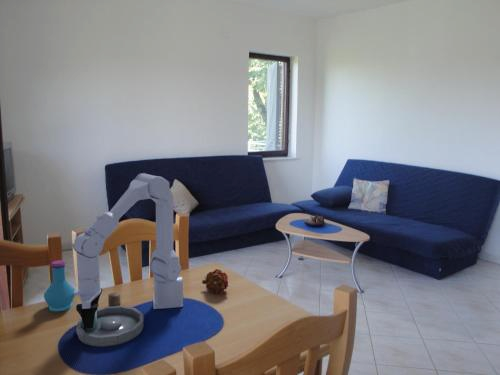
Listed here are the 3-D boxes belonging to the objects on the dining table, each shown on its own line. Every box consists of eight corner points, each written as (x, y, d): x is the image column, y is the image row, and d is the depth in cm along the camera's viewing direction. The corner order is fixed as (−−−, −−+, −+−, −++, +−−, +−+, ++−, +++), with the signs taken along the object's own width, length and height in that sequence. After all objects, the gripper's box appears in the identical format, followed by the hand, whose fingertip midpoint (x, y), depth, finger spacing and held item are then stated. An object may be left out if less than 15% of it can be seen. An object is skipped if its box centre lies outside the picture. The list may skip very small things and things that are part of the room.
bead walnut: (120, 306, 132) (120, 292, 131) (120, 311, 128) (119, 297, 128) (109, 307, 131) (108, 293, 130) (108, 312, 127) (107, 297, 127)
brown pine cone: (219, 303, 140) (209, 293, 151) (237, 286, 142) (226, 278, 153) (205, 285, 138) (196, 277, 149) (223, 268, 140) (213, 261, 151)
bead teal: (97, 324, 118) (97, 308, 117) (96, 330, 115) (95, 314, 114) (84, 325, 117) (84, 309, 117) (82, 331, 114) (82, 315, 113)
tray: (143, 312, 128) (143, 303, 128) (143, 342, 111) (142, 333, 111) (82, 317, 124) (82, 308, 124) (72, 350, 107) (72, 340, 106)
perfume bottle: (64, 314, 125) (61, 268, 123) (37, 311, 127) (35, 265, 125) (82, 301, 134) (80, 258, 132) (57, 298, 136) (54, 256, 134)
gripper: (77, 267, 119) (79, 310, 122) (68, 287, 106) (71, 335, 108) (103, 265, 121) (104, 308, 123) (97, 285, 107) (99, 332, 110)
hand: (90, 320), depth 116 cm, fingers open, 7 cm apart
